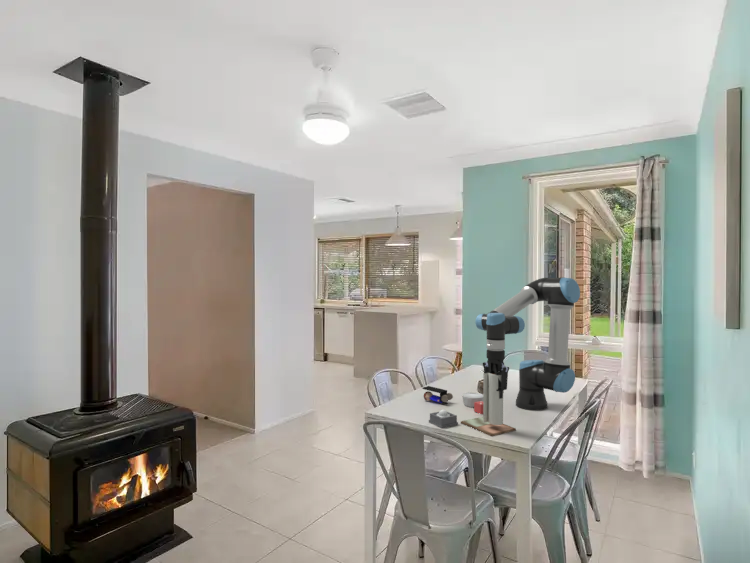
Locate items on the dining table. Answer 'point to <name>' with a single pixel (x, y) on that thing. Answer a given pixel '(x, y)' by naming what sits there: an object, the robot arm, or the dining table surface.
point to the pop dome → (443, 413)
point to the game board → (487, 426)
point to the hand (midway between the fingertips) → (495, 404)
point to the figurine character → (442, 398)
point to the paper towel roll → (492, 400)
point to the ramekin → (471, 398)
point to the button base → (443, 420)
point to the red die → (478, 407)
